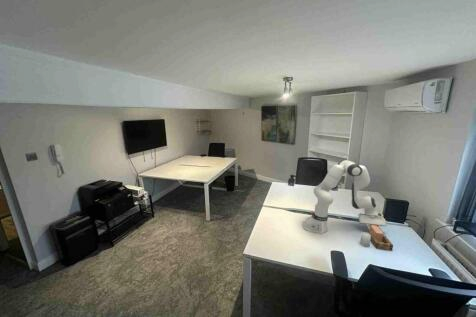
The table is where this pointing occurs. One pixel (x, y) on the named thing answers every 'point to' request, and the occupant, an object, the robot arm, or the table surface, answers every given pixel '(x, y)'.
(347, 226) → the table surface
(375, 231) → the block
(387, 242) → the lane
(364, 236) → the white rounded piece
